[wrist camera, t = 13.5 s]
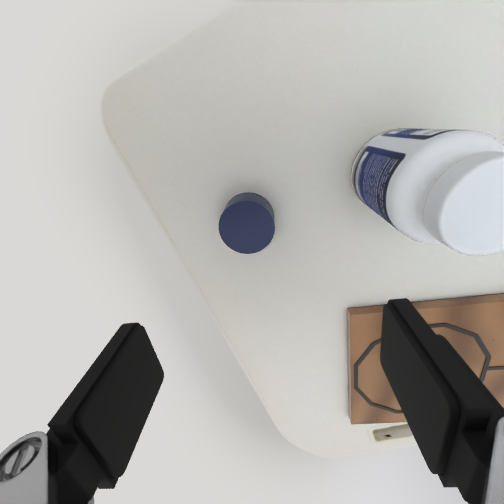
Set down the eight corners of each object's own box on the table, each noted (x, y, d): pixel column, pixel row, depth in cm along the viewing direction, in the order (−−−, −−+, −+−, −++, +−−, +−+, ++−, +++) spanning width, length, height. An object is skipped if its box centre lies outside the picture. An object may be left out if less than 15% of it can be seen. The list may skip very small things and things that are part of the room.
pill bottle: (375, 220, 20) (456, 293, 12) (334, 168, 19) (392, 206, 10) (442, 172, 18) (600, 215, 10) (403, 109, 17) (549, 92, 8)
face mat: (348, 415, 31) (351, 425, 30) (347, 308, 24) (350, 316, 23) (517, 408, 29) (526, 418, 28) (567, 287, 22) (582, 294, 21)
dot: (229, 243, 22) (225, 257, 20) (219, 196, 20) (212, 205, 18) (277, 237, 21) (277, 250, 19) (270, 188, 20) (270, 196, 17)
